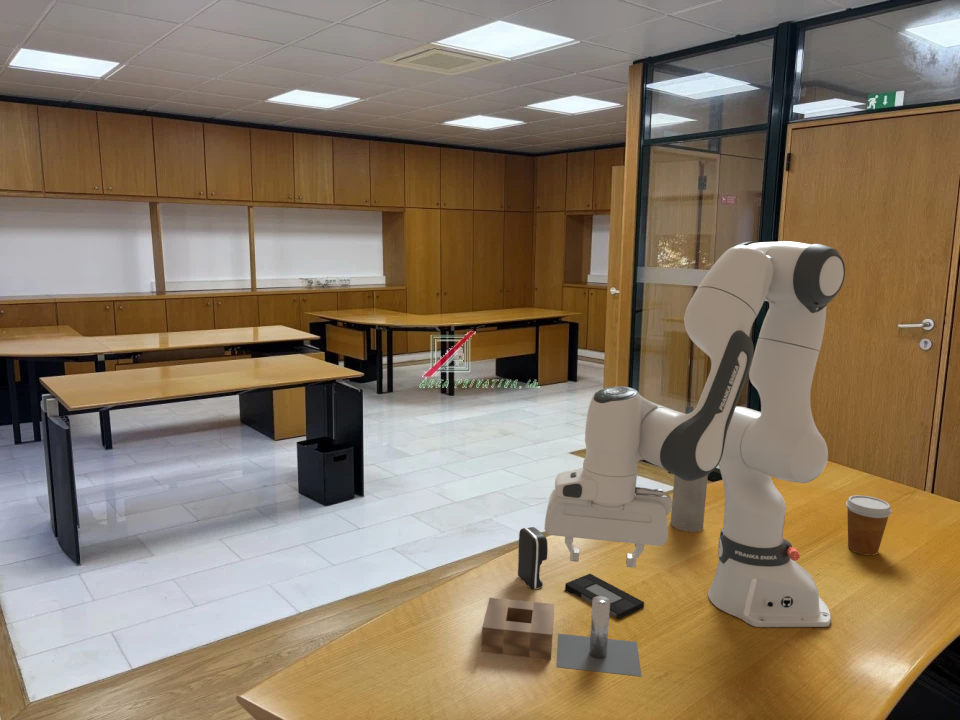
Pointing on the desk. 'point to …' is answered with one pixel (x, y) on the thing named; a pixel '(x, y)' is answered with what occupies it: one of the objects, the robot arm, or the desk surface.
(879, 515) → the disposable coffee cup
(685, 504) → the thermos bottle
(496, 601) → the hole block
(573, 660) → the mat
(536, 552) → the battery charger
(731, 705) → the desk surface
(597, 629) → the peg
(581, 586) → the vhs tape
